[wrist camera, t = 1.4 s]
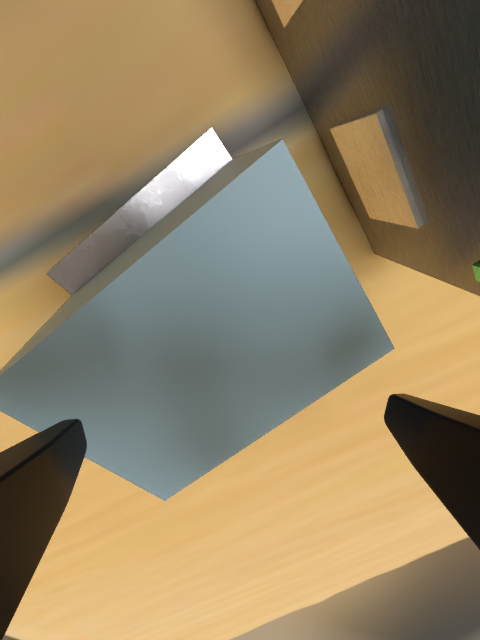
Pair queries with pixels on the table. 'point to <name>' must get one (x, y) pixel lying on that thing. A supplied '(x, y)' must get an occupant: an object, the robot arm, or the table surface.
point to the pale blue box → (202, 330)
